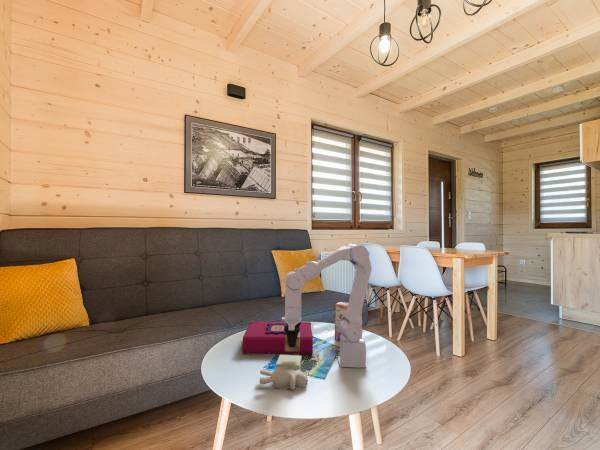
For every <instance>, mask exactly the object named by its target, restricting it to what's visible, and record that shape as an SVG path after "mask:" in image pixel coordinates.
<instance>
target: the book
mask: <svg viewBox="0 0 600 450" xmlns="http://www.w3.org/2000/svg"><path fill="white" fill-rule="evenodd" d="M284 326H287V324H286V322H285V321H250V322H248V326H247V328H246V330H245V332H244V334H243V336H242V346H241V347H242V351H241V353H242V354H258V355H259V354H263V355H264V354H267V355H268V354H271V355H272V354H273V355H274V354H276V355H278V354H279V355H293V354H294V355H296V354H297V355H301V354H302V355H303V354H304V355H311V354H312V355H313V354H314V353H313V351H314V347H313V346H314V340H313V339H314V338H313V332H312V330H313V329H312V323H311V322H309V321H301V324H300V326H299V328H300V331H299V332H300V350H299V352H297V351H285V336H286V333H285V331H284Z"/></svg>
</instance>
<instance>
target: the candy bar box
mask: <svg viewBox="0 0 600 450" xmlns="http://www.w3.org/2000/svg"><path fill="white" fill-rule="evenodd" d="M347 306H348V302H342V301H339V302H336V303H335V304H334V340H335V341H338V342H340V335H341V332H340V331H339V329H338V323H339V321H340V320H341V318H342V316H343V313H344V312H346V310H347ZM361 319H362V320H363V310H362V311H361ZM362 337H363V336H362ZM362 337H361V338H360V339H363V338H362Z"/></svg>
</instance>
